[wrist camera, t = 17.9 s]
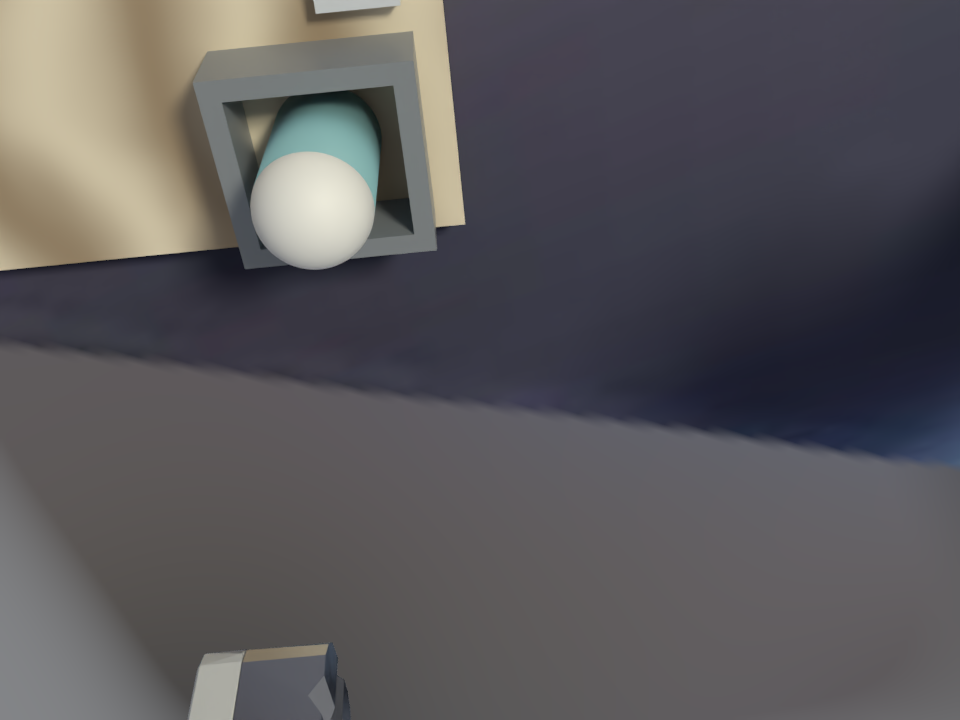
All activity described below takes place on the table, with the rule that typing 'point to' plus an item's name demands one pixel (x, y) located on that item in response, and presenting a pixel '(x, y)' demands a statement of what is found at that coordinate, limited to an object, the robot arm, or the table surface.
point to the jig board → (170, 119)
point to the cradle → (310, 72)
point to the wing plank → (351, 5)
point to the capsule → (318, 180)
